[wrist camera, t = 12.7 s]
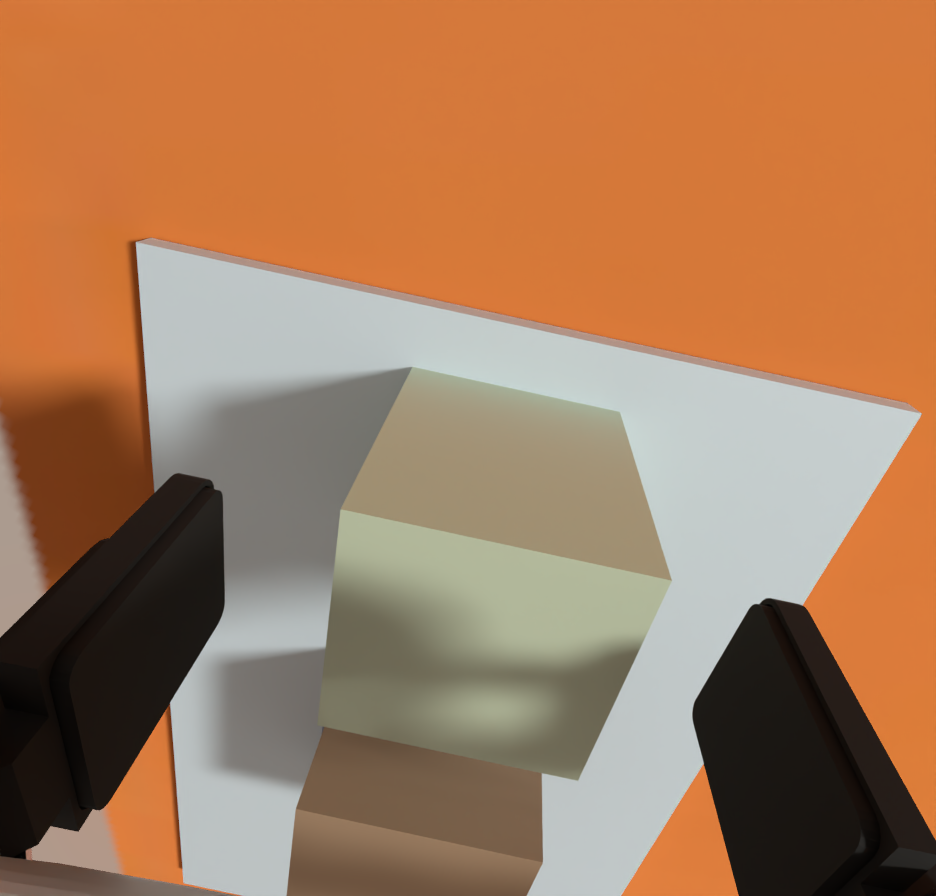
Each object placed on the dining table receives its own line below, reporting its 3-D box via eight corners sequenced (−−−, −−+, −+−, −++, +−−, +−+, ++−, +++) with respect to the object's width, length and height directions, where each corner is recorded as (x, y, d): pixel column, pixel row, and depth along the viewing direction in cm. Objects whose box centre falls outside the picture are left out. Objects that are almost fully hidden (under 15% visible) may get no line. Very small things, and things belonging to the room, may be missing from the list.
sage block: (563, 572, 16) (578, 780, 11) (386, 534, 16) (317, 725, 11) (619, 411, 14) (671, 580, 9) (412, 366, 14) (340, 509, 9)
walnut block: (497, 800, 21) (488, 972, 17) (334, 764, 21) (283, 928, 17) (540, 689, 19) (542, 862, 14) (351, 647, 19) (295, 808, 14)
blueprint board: (576, 949, 27) (577, 968, 27) (190, 868, 27) (182, 885, 27) (907, 403, 14) (924, 415, 13) (151, 237, 14) (133, 242, 13)
